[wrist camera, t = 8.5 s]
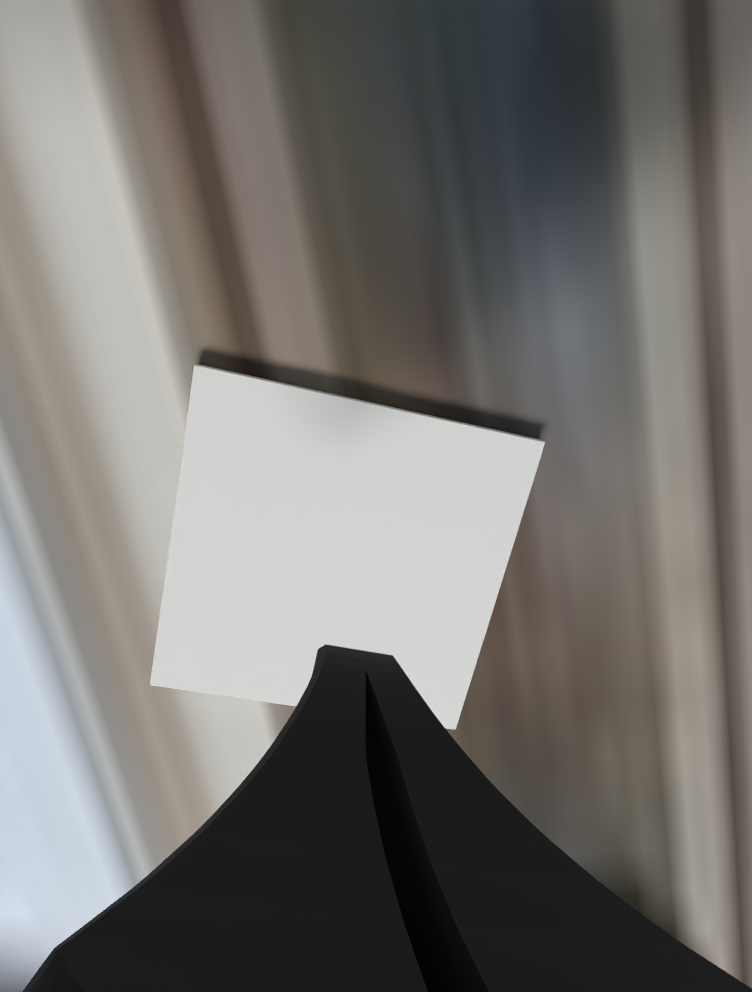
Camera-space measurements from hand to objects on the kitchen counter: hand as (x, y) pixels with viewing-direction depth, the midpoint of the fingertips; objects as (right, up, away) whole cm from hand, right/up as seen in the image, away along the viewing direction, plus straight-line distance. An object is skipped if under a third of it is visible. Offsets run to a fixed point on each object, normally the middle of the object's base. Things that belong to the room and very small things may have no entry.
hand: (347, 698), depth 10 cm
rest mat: (0, +2, +6) cm, 6 cm away
